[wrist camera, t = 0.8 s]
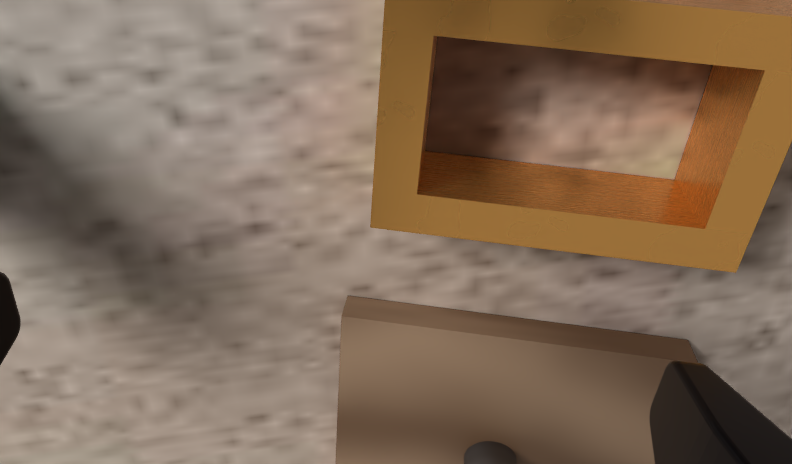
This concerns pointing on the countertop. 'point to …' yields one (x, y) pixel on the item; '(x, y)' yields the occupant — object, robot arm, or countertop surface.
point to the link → (586, 189)
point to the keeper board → (493, 388)
